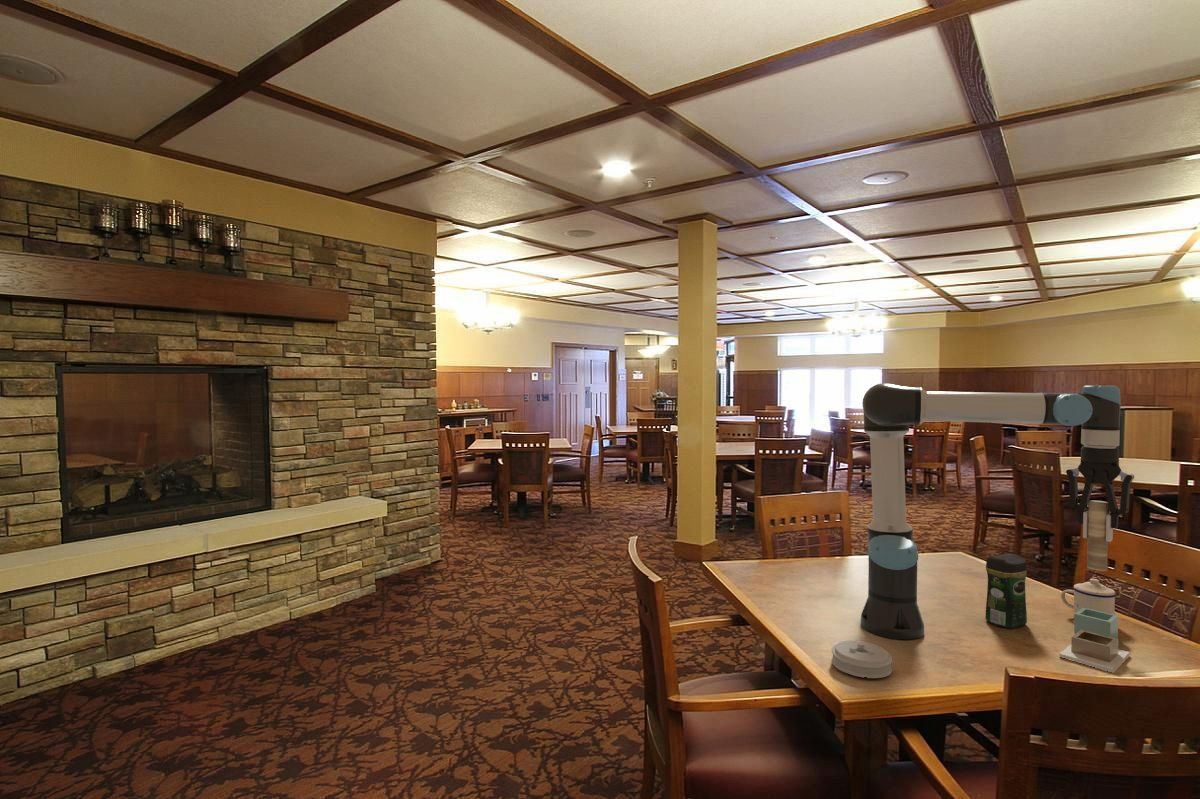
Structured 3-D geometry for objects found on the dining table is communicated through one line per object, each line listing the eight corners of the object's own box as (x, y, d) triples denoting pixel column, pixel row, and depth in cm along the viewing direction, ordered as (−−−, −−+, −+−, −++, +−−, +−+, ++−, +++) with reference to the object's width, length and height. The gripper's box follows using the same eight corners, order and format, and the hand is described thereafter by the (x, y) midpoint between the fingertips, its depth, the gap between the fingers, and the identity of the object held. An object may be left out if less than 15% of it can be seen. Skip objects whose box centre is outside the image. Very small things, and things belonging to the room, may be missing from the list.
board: (1113, 673, 138) (1113, 668, 138) (1059, 657, 146) (1059, 653, 146) (1129, 656, 147) (1129, 652, 147) (1077, 642, 154) (1077, 638, 154)
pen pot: (1109, 646, 152) (1110, 622, 152) (1074, 637, 158) (1074, 613, 158) (1117, 639, 157) (1118, 615, 156) (1082, 630, 162) (1083, 607, 162)
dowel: (1104, 572, 154) (1106, 504, 153) (1084, 568, 157) (1086, 501, 156) (1109, 569, 156) (1110, 502, 156) (1089, 565, 159) (1090, 499, 159)
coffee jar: (1002, 615, 173) (1004, 549, 172) (1032, 625, 165) (1033, 556, 165) (979, 620, 169) (980, 553, 168) (1007, 631, 162) (1009, 560, 161)
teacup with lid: (1120, 623, 167) (1121, 580, 167) (1108, 631, 162) (1109, 587, 161) (1067, 610, 177) (1067, 569, 176) (1054, 617, 171) (1055, 575, 171)
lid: (870, 655, 148) (870, 634, 147) (904, 680, 135) (904, 657, 135) (821, 658, 146) (821, 637, 146) (850, 684, 133) (850, 661, 133)
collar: (1109, 662, 141) (1110, 647, 141) (1071, 651, 147) (1071, 637, 147) (1118, 654, 146) (1118, 639, 145) (1080, 643, 151) (1080, 629, 151)
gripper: (1147, 448, 151) (1145, 543, 152) (1063, 443, 165) (1061, 530, 165) (1140, 450, 147) (1137, 548, 147) (1054, 444, 160) (1052, 534, 161)
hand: (1097, 538), depth 156 cm, fingers closed on dowel, 4 cm apart
